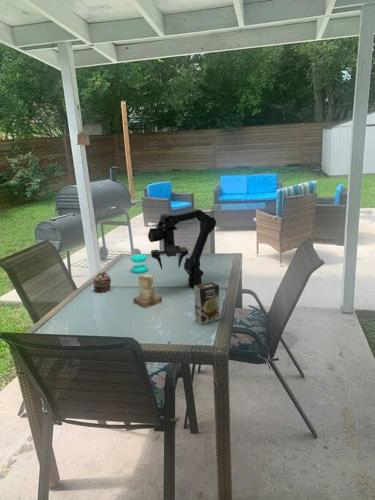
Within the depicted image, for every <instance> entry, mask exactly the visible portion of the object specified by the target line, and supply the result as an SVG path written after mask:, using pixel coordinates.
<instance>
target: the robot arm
mask: <svg viewBox="0 0 375 500" xmlns="http://www.w3.org/2000/svg"><path fill="white" fill-rule="evenodd" d="M193 219H194V220H195V219H196V220H197V221H199V233H198V236H197V238H196V242H195V244H194V247H193V250H192V253H191V255H190V256H189V257H186V256H187V255H189V249H188V248H187V247H186V246H181V247H180V245H176V244H175V230H176V231H177V230H178V227H176V225H178V224H179V223H181V222H186V221H190V220H193ZM216 225H217V221H216V219H215V217H211V216H210V215H208V214H207V213H205V212H204V211H203V210H202V209H197V208H195V209H193V210H190V211H185V212H181V213H164V214H162V215H161V216H160V218H159V221H158V223H157V225H156V227H155V228H153V227H151V228H149V231H148V234H147V238H148V241H149V242H150V243H155V242H160V241H162V243H163V250H159V249H151V251H150V256H151V258H152V259H154V260H157V262H158V264H159V267H160V269H161V270H163V264H162V259H161V256H163V255H166V257H168V258H169V257H177V254H178V257H177V258H178V259H177V261H178V262H177V264H178V269H179V268H180V267H181V265H182V264H181V263H182V261H183V259H184V257H186V258H185V261H184V263H183V269H184V271H185V272H186V274H187V275H188V278H187V285H188V286H189V287H190V288H191V289H192V288H193V289H194V285H199V284H203V283H202V277H203V276H204V271H203V270H202V269H200V267H201V256H202V253H203V251H204V249H205V246H206V243H207V240H208V236H209V235H210V234H211V233H212V231H214V230H215V229H214V228H215V227H216Z"/></svg>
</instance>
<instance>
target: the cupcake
mask: <svg viewBox="0 0 375 500" xmlns="http://www.w3.org/2000/svg"><path fill="white" fill-rule="evenodd" d="M111 283H112V280H111V276H110V275H108V273H107V272H105V271H103V272H101V273H100V272H98V274H96V276H95V277H94V279H93V282H92V285H93V288H94V291H95V293H98V294H104V293H107V291H108V292H110V290H111ZM103 292H104V293H103Z"/></svg>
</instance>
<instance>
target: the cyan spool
mask: <svg viewBox="0 0 375 500" xmlns="http://www.w3.org/2000/svg"><path fill="white" fill-rule="evenodd" d="M147 258H148V256H147V255H146V254H140V253H139V254H134V255H132V256H131V257H130V260H131V262H132V263H134V264H135V263H137V264H135V265H134V266H132V268H131V272H132V273H134V274H143V273H146V272H148V270H149V269H148V266H147V265H146V264H141V263H144V262H146V261H147Z"/></svg>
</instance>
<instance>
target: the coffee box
mask: <svg viewBox="0 0 375 500" xmlns="http://www.w3.org/2000/svg"><path fill="white" fill-rule="evenodd" d="M193 289H194V291H193V293H194V316H195V317H194V320H195V321H197V322H198V323H199V324H200V325H202V324H203V325H206V323H207V324H209V323H208V322H210V323H213V322H212V321H214V322H216V321H215V320H218V319H220V320H221V317H220V316H221V315H220V285H219V284H217V283H215V282H212V281H210V282H205V283H202V284H199V285H194V288H193ZM218 321H219V320H218Z"/></svg>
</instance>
